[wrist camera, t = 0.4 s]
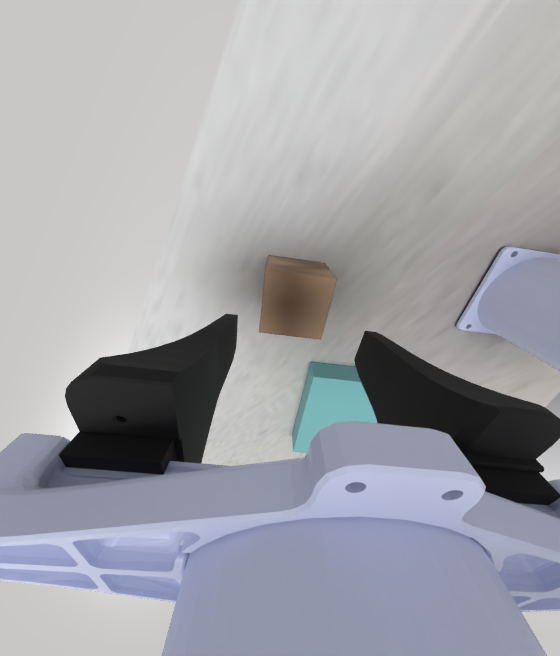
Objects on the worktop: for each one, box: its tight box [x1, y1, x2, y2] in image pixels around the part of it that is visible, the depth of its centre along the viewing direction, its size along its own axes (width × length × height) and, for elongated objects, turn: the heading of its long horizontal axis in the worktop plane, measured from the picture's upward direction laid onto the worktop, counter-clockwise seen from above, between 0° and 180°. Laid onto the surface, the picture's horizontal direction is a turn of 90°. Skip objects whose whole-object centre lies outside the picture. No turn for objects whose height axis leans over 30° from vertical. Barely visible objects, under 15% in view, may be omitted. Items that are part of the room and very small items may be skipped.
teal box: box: [292, 362, 377, 453], centre depth 28 cm, size 13×13×3 cm
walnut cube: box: [259, 255, 337, 340], centre depth 19 cm, size 5×5×5 cm
